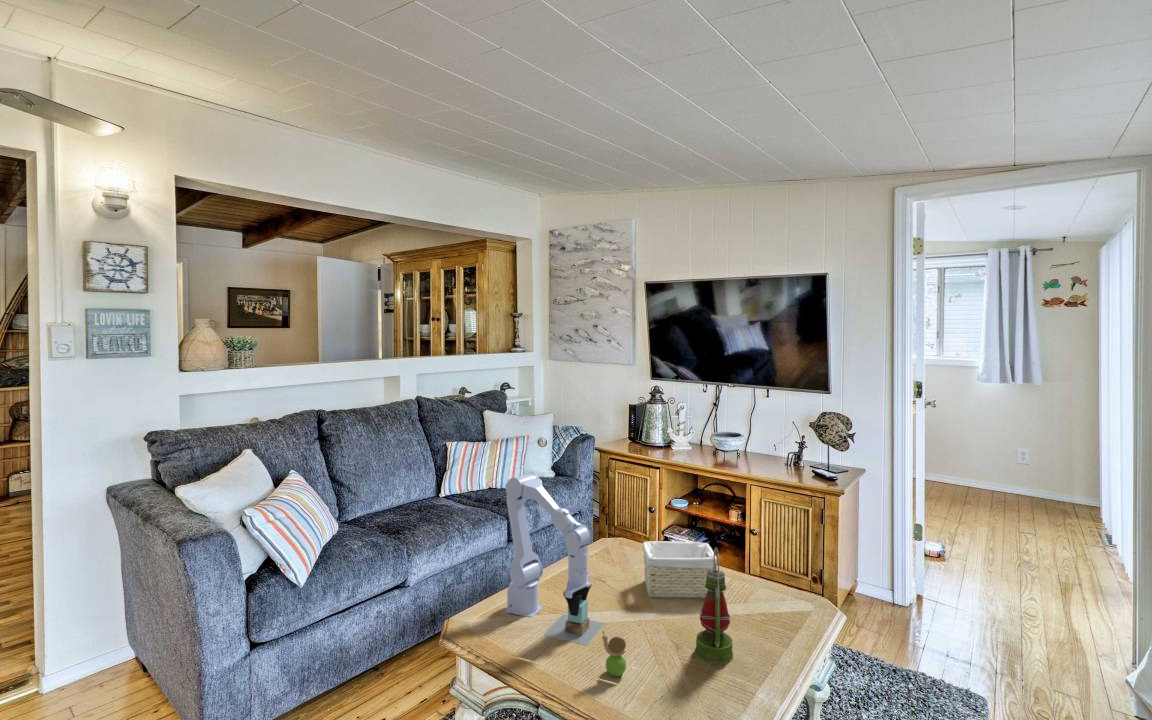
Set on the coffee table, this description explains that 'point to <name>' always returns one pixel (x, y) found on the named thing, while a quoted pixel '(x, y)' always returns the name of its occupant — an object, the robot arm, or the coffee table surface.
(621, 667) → the green toy figure
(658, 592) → the storage basket
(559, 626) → the build plate
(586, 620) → the walnut brick
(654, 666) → the coffee table surface
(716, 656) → the lantern
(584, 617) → the teal brick
